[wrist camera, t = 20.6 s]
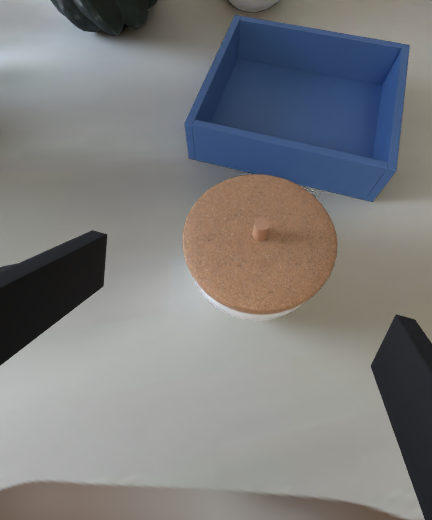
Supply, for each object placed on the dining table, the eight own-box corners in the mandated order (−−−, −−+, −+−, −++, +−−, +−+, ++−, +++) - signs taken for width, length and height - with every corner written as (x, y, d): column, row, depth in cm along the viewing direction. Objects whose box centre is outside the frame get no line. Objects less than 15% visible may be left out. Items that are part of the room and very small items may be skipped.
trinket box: (167, 279, 29) (144, 229, 21) (243, 205, 32) (251, 134, 24) (258, 362, 26) (276, 343, 18) (332, 271, 29) (379, 218, 21)
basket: (188, 158, 35) (184, 123, 30) (233, 55, 42) (234, 14, 37) (372, 202, 32) (396, 170, 28) (388, 84, 39) (410, 44, 35)
